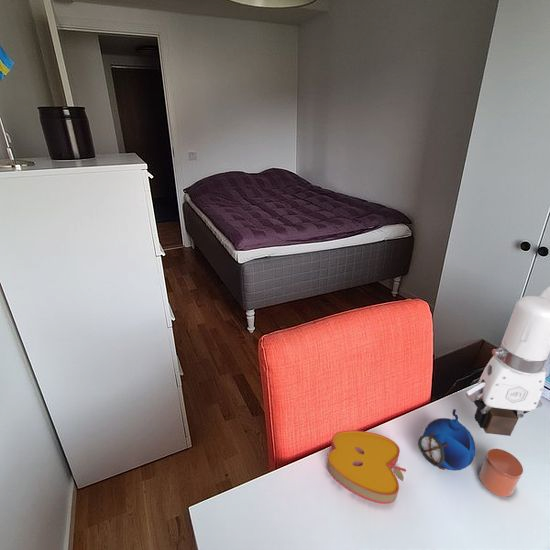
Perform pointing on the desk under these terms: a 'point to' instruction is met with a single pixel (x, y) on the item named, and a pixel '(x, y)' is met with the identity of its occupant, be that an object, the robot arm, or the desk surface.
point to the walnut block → (500, 421)
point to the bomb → (447, 444)
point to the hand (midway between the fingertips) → (493, 423)
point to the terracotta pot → (500, 472)
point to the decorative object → (366, 465)
